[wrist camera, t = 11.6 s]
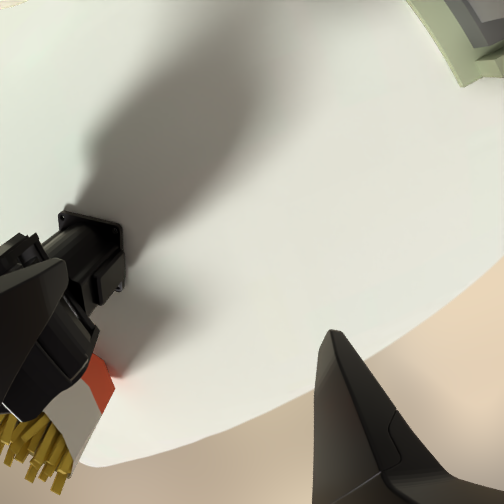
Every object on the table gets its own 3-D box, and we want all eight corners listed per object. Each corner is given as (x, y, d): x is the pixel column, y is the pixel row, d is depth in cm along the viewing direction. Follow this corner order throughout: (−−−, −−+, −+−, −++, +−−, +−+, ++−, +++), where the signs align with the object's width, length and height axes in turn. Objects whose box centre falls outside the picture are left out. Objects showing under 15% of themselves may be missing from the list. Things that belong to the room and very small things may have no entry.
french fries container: (50, 319, 30) (-32, 431, 14) (124, 372, 32) (62, 500, 17) (46, 337, 32) (-25, 440, 17) (114, 385, 34) (59, 500, 19)
